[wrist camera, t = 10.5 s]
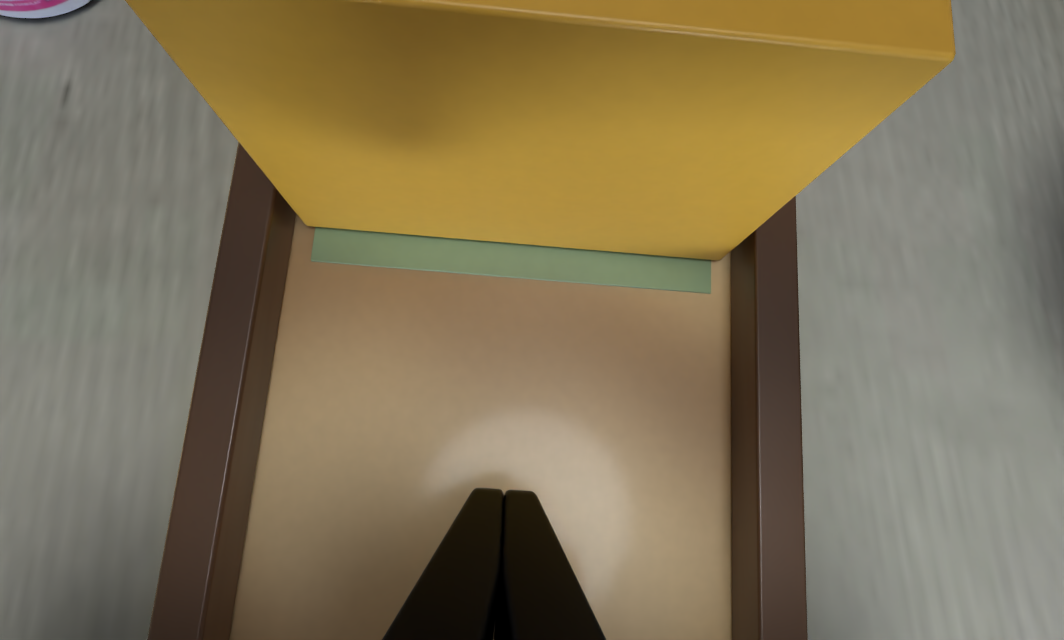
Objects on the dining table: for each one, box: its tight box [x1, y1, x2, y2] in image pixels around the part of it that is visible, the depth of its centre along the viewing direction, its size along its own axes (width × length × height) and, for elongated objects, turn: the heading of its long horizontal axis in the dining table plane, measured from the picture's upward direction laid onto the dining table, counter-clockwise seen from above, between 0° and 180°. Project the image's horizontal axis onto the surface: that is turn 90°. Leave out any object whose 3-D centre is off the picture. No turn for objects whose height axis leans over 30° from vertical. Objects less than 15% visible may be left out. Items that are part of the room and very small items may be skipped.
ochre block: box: [125, 0, 955, 260], centre depth 12 cm, size 6×10×8 cm, turn 86°
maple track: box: [147, 142, 807, 640], centre depth 15 cm, size 22×14×3 cm, turn 176°
